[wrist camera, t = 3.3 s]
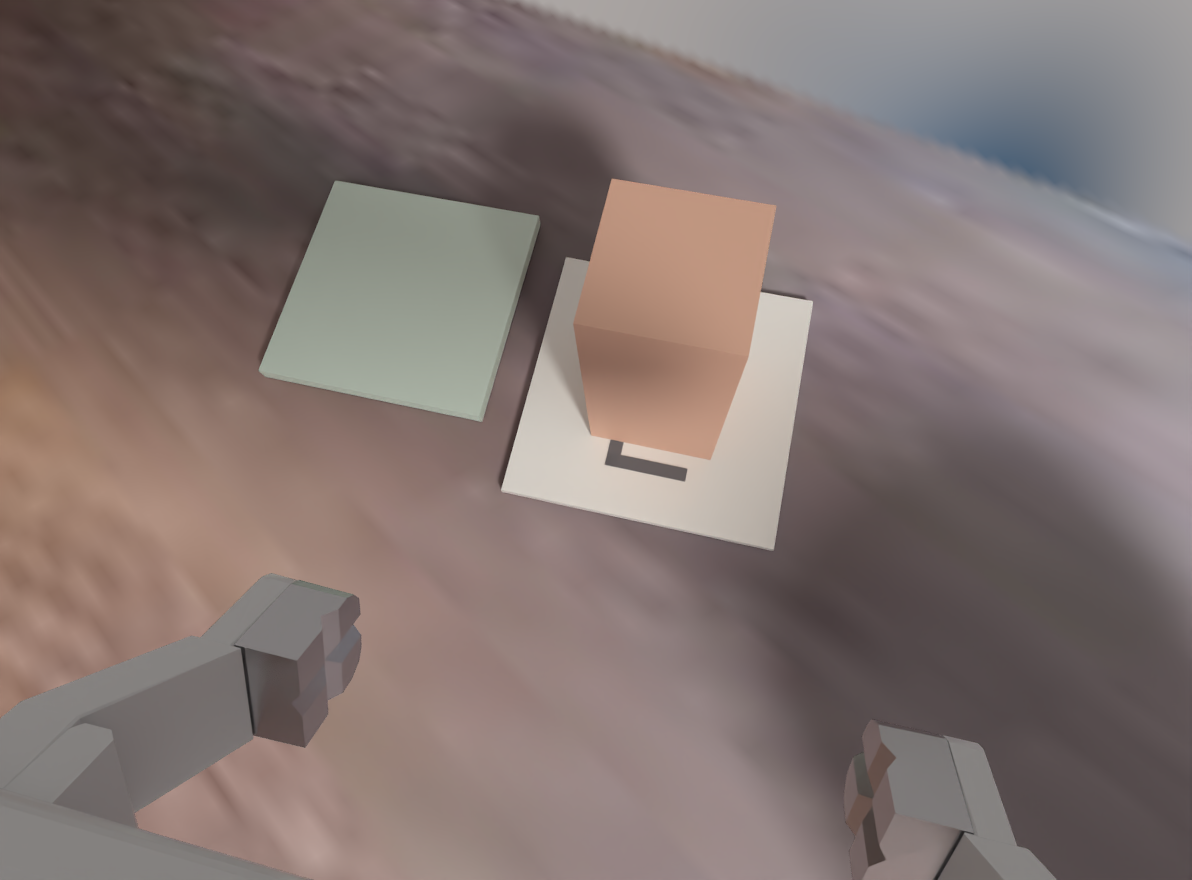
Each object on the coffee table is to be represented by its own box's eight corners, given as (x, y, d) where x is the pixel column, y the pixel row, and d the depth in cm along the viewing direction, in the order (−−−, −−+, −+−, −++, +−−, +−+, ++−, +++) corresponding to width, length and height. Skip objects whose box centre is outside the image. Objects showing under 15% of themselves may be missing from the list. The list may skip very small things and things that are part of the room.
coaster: (265, 376, 29) (258, 370, 28) (340, 189, 31) (335, 180, 31) (482, 421, 28) (479, 416, 27) (540, 224, 30) (538, 215, 30)
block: (591, 435, 27) (572, 323, 18) (617, 328, 28) (611, 178, 20) (710, 460, 27) (748, 356, 18) (731, 350, 28) (776, 205, 19)
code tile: (502, 492, 27) (501, 489, 27) (566, 261, 30) (566, 256, 29) (772, 550, 26) (773, 549, 25) (811, 305, 29) (813, 301, 28)
